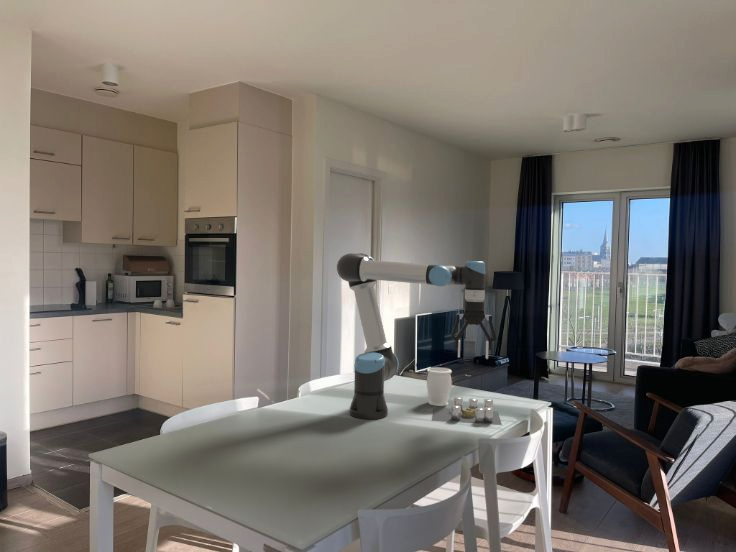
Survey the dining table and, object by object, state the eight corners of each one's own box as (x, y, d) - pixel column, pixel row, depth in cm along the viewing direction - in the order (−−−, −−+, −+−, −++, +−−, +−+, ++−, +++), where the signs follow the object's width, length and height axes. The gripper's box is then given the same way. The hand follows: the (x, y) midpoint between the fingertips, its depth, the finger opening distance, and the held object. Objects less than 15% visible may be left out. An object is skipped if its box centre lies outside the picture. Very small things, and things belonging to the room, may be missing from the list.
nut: (464, 417, 221) (465, 411, 221) (461, 414, 226) (461, 407, 226) (475, 417, 221) (476, 411, 221) (471, 414, 226) (472, 407, 226)
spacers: (450, 421, 215) (451, 408, 215) (450, 408, 234) (451, 396, 234) (495, 424, 213) (496, 411, 213) (492, 411, 231) (492, 398, 231)
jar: (452, 408, 237) (453, 372, 236) (427, 407, 237) (428, 371, 236) (449, 401, 247) (450, 367, 247) (425, 401, 247) (426, 366, 247)
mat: (431, 422, 216) (431, 420, 216) (433, 408, 235) (433, 407, 235) (501, 426, 212) (501, 424, 212) (497, 412, 231) (497, 411, 231)
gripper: (445, 300, 220) (443, 357, 221) (505, 302, 217) (503, 360, 217) (445, 299, 227) (443, 354, 228) (503, 301, 224) (501, 357, 225)
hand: (472, 357), depth 223 cm, fingers open, 10 cm apart
